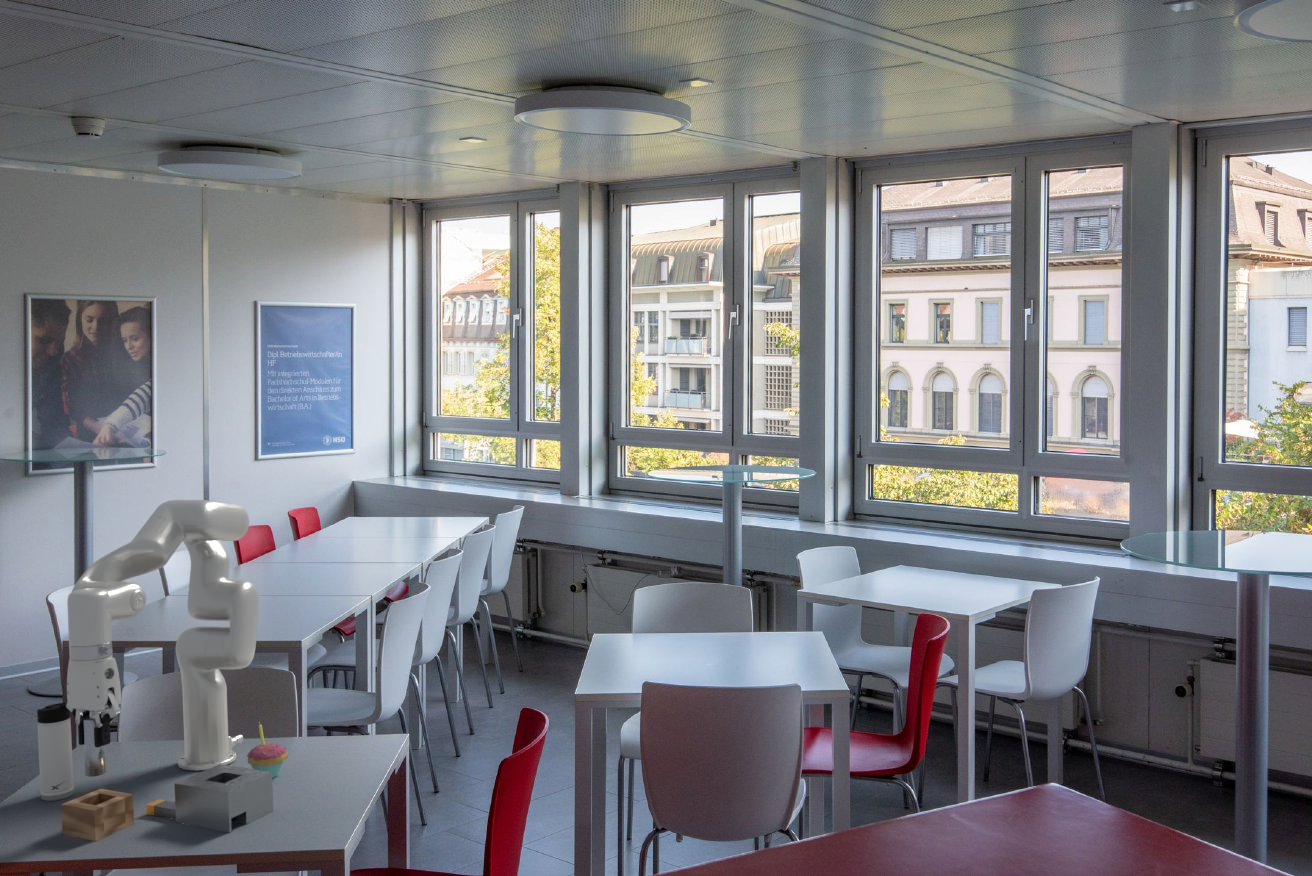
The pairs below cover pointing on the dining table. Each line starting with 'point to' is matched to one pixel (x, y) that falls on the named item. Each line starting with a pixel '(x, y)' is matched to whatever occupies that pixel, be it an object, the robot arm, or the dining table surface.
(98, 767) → the peg
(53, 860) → the dining table surface
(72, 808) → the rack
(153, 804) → the bar
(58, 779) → the travel mug
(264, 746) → the cupcake
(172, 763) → the dining table surface
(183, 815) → the socket block
